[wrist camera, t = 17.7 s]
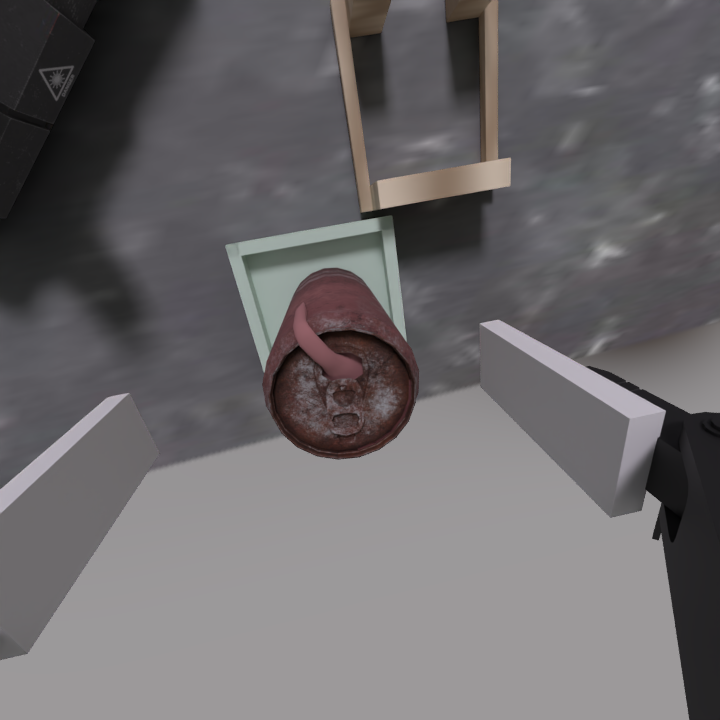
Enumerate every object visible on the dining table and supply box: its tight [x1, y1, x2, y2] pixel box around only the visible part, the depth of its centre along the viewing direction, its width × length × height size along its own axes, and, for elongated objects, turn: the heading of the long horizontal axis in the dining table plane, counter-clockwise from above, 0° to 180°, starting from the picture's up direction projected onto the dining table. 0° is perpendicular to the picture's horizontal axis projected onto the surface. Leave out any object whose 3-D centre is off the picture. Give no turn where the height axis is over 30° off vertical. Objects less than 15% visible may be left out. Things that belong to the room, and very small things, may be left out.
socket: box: [330, 0, 511, 213], centre depth 20 cm, size 10×11×4 cm
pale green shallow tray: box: [225, 216, 407, 372], centre depth 25 cm, size 11×11×2 cm
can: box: [262, 268, 419, 459], centre depth 19 cm, size 6×6×14 cm
